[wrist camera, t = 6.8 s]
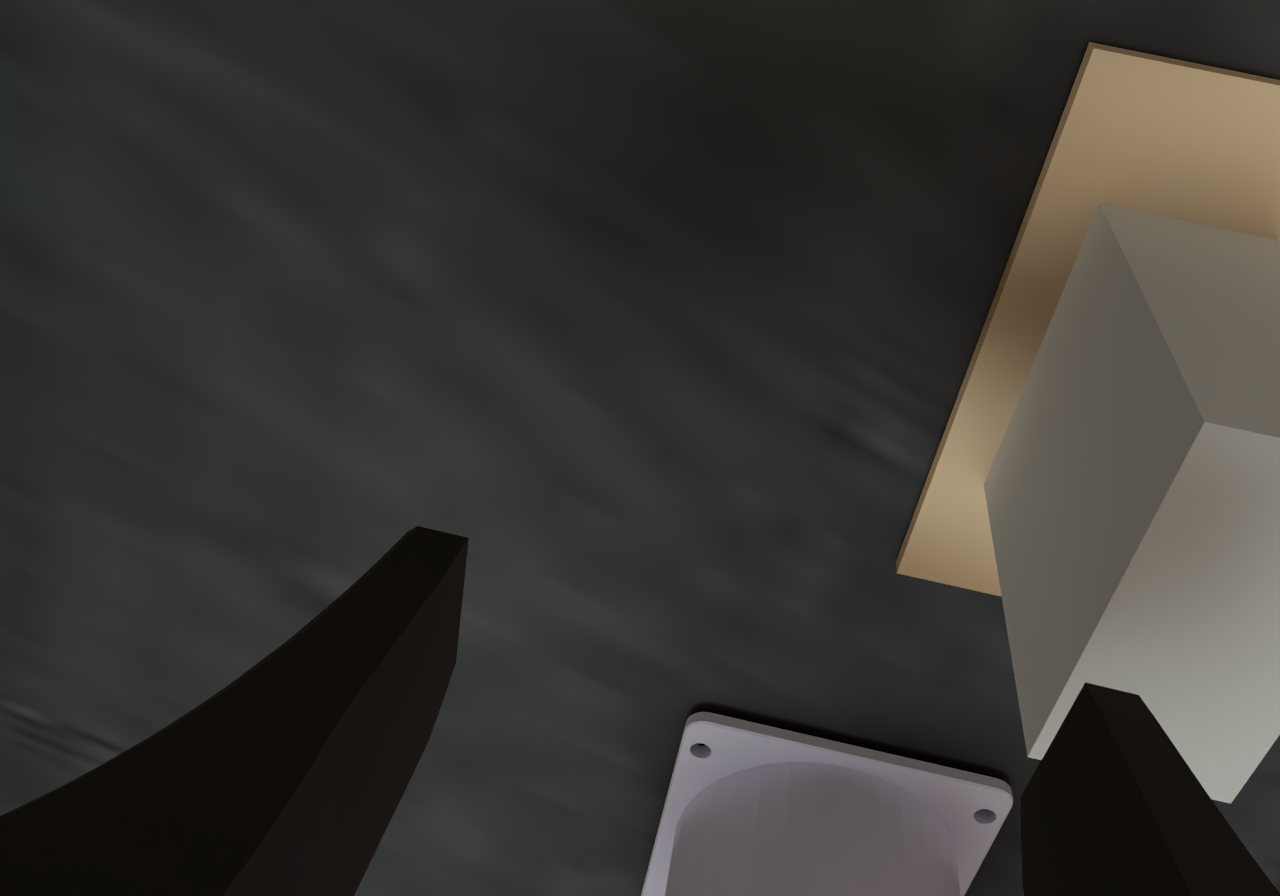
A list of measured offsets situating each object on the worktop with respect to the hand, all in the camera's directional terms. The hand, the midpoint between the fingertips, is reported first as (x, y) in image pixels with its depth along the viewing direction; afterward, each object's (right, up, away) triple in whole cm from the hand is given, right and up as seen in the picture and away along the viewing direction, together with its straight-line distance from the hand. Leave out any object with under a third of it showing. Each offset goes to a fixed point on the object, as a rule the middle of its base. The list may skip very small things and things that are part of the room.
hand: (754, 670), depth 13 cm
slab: (+7, +4, +7) cm, 11 cm away
